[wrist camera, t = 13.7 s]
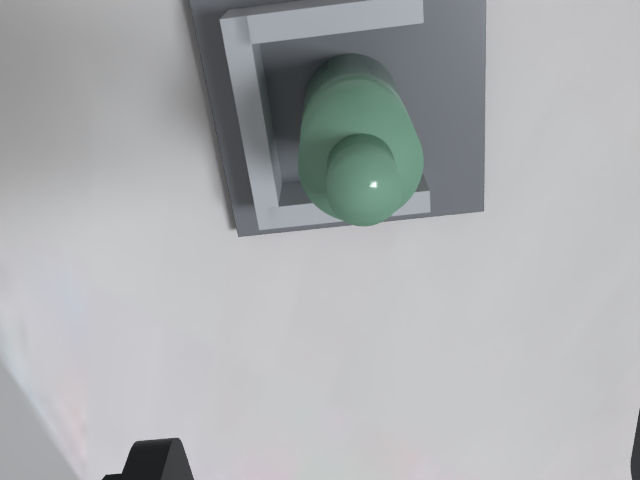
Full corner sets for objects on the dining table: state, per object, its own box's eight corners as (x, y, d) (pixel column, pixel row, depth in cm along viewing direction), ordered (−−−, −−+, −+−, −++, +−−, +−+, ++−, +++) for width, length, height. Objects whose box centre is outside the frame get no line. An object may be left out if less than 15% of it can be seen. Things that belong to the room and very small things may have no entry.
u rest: (481, -67, 28) (504, -64, 25) (479, 203, 35) (497, 236, 31) (187, -29, 29) (169, -21, 26) (240, 228, 36) (231, 263, 32)
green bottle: (394, 47, 30) (431, 117, 20) (400, 140, 32) (436, 246, 22) (298, 59, 30) (285, 134, 20) (310, 150, 32) (304, 259, 22)
